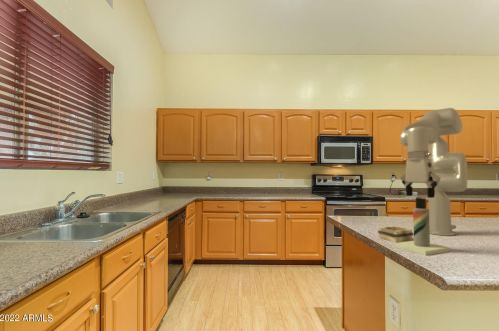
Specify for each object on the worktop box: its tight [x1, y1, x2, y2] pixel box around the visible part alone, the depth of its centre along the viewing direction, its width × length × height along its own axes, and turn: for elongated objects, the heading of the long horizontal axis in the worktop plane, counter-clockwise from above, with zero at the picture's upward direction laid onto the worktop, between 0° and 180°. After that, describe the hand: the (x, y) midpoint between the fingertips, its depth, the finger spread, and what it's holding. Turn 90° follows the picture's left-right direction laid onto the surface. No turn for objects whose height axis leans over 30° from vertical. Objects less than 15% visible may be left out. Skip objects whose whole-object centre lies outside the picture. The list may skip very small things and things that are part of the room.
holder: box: [377, 226, 414, 243], centre depth 132 cm, size 11×11×5 cm
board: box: [394, 240, 451, 256], centre depth 114 cm, size 14×14×2 cm
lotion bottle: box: [412, 196, 431, 247], centre depth 115 cm, size 6×6×20 cm
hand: (419, 196), depth 115 cm, fingers open, 9 cm apart
